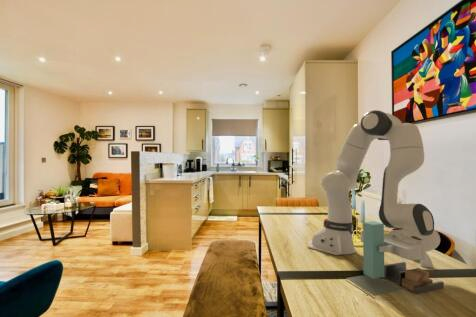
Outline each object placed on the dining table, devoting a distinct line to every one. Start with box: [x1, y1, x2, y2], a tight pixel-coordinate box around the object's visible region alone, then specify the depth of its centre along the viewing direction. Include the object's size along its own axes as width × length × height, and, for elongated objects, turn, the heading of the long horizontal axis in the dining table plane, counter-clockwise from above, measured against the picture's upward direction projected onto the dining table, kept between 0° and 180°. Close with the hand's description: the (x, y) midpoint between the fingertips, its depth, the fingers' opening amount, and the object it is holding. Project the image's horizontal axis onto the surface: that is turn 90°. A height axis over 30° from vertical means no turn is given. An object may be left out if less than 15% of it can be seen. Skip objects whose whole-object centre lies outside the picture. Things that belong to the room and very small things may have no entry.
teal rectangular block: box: [362, 220, 385, 279], centre depth 84 cm, size 5×4×18 cm
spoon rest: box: [419, 252, 434, 269], centre depth 110 cm, size 24×12×7 cm, turn 174°
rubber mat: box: [345, 274, 403, 300], centre depth 84 cm, size 12×12×1 cm
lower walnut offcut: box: [402, 278, 434, 291], centre depth 82 cm, size 9×4×2 cm, turn 108°
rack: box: [382, 261, 445, 295], centre depth 86 cm, size 13×14×5 cm
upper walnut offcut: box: [405, 267, 430, 284], centre depth 82 cm, size 7×4×2 cm, turn 114°
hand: (371, 246), depth 84 cm, fingers closed on teal rectangular block, 4 cm apart
